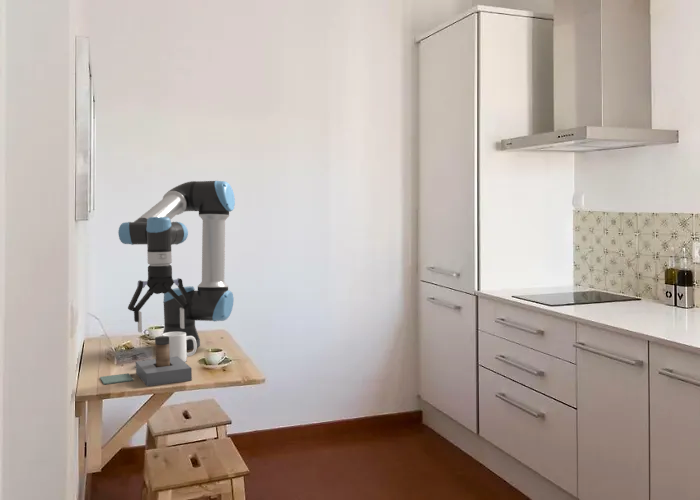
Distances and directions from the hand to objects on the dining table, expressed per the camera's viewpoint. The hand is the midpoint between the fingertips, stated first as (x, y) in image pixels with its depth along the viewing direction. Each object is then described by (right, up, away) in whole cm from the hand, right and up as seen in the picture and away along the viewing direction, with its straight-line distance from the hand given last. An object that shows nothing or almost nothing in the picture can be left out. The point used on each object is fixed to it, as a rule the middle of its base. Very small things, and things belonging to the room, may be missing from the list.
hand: (161, 330), depth 222 cm
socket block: (0, -15, +2) cm, 16 cm away
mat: (-14, -16, -1) cm, 21 cm away
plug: (0, -15, +2) cm, 16 cm away
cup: (+1, -14, +22) cm, 26 cm away
